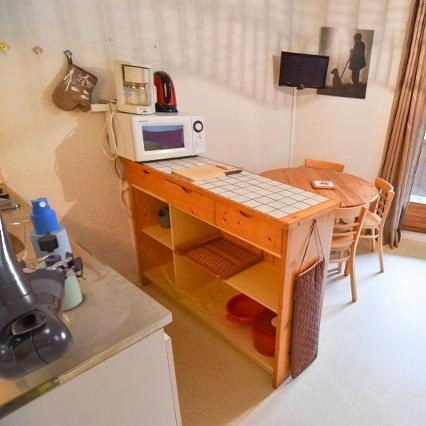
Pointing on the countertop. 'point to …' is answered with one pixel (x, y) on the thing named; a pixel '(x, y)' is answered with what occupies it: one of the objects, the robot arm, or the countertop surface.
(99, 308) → the countertop surface
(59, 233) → the spray bottle
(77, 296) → the dispenser
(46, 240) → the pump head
